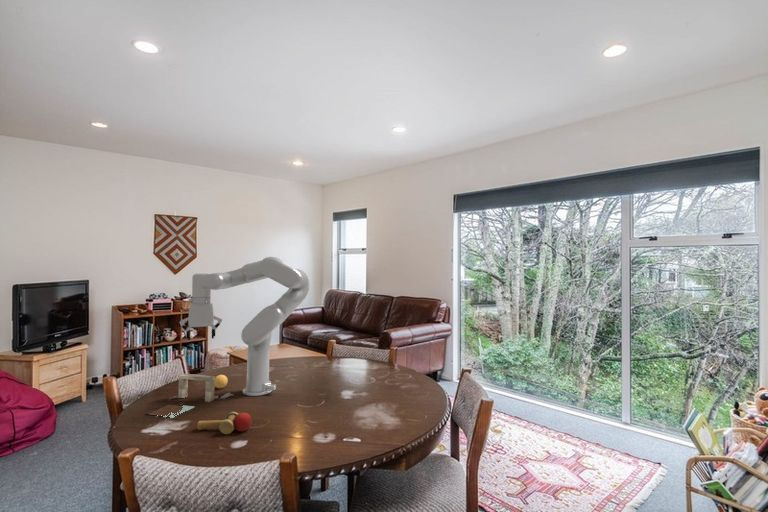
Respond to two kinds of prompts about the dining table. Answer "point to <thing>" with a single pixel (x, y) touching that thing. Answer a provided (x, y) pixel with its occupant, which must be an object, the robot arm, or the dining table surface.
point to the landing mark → (185, 408)
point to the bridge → (184, 379)
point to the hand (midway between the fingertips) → (201, 339)
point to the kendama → (228, 423)
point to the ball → (220, 381)
